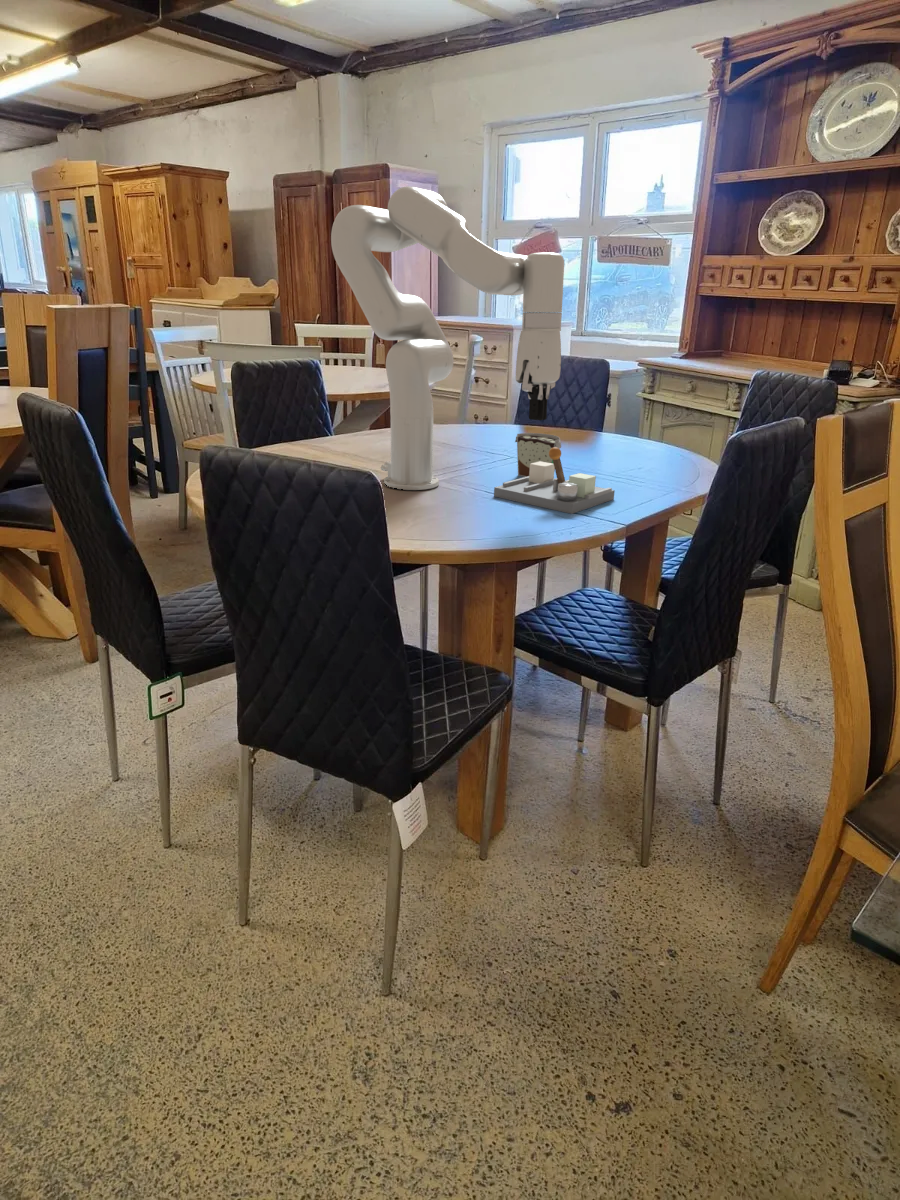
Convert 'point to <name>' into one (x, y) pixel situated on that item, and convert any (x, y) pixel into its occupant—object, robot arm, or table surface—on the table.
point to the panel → (549, 495)
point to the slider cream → (541, 472)
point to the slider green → (583, 483)
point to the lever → (557, 463)
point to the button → (567, 492)
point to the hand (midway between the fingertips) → (537, 419)
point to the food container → (534, 450)
